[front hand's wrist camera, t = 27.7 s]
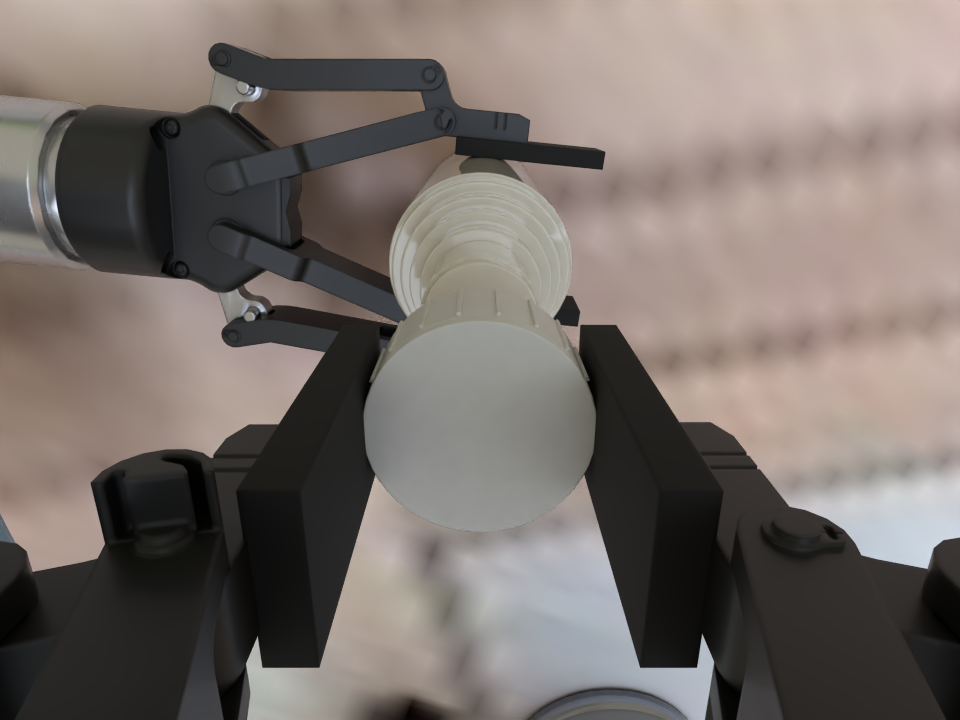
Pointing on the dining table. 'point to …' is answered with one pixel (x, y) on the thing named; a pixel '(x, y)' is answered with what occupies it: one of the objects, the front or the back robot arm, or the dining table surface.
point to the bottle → (480, 237)
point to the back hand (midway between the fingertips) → (585, 237)
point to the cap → (479, 412)
